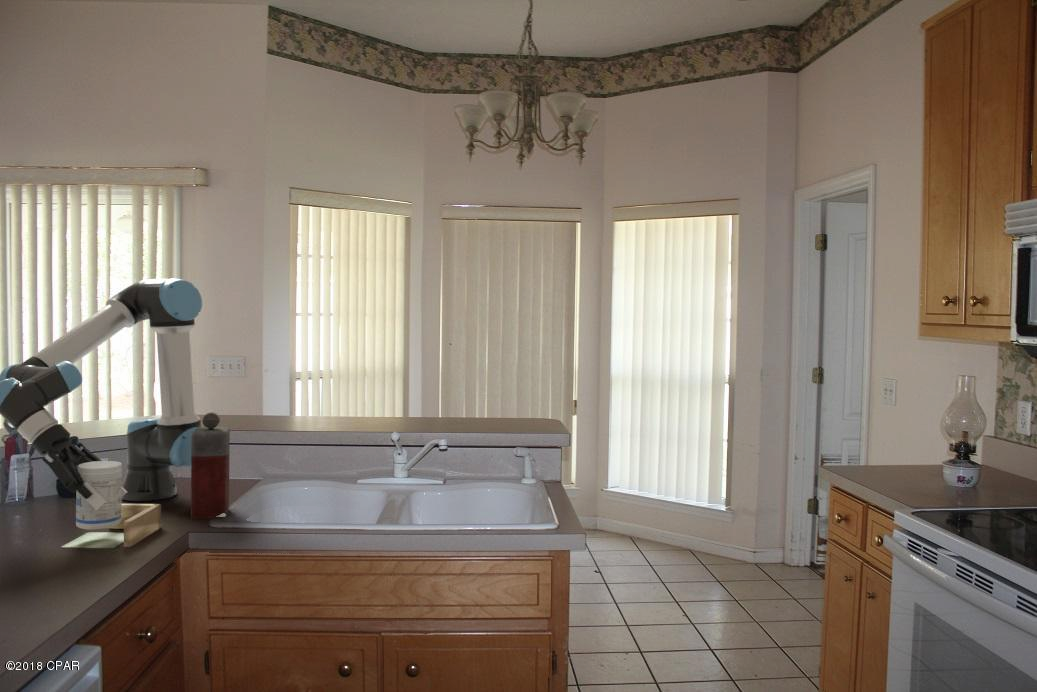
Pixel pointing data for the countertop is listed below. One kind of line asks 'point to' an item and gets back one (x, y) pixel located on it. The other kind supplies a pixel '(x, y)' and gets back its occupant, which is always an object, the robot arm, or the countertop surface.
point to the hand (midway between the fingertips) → (112, 500)
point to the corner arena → (133, 521)
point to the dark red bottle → (210, 469)
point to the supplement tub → (108, 485)
